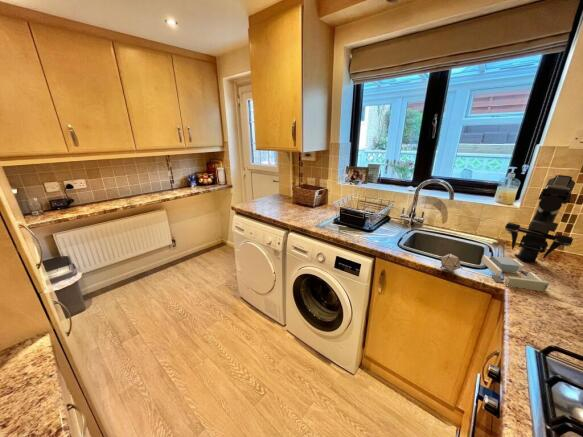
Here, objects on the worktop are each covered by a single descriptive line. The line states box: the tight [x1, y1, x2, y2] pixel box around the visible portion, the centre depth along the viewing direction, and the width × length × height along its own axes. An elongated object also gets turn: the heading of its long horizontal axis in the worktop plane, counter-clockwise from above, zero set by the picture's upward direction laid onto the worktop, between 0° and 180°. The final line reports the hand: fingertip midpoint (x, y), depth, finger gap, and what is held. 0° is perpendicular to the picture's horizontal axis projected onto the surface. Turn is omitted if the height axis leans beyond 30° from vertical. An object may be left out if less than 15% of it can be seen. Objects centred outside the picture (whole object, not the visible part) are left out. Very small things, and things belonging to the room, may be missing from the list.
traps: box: [491, 270, 529, 284], centre depth 102 cm, size 6×22×1 cm, turn 101°
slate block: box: [490, 255, 519, 274], centre depth 109 cm, size 7×7×4 cm
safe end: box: [505, 275, 550, 292], centre depth 95 cm, size 1×13×4 cm, turn 77°
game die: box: [438, 251, 463, 274], centre depth 105 cm, size 9×8×10 cm
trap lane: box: [481, 254, 549, 292], centre depth 104 cm, size 20×13×3 cm
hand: (527, 253), depth 94 cm, fingers open, 9 cm apart
